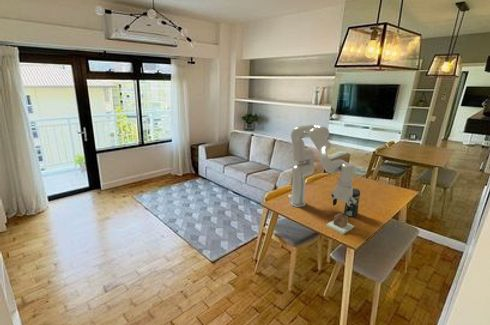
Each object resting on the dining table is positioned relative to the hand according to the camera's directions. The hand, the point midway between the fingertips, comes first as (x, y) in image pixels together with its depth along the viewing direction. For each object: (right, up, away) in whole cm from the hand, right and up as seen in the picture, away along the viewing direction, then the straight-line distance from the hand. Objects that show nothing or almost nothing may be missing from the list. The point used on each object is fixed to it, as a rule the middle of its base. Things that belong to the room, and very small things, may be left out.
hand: (341, 207), depth 162 cm
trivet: (0, -13, +3) cm, 13 cm away
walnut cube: (0, -11, +3) cm, 12 cm away
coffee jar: (+14, -8, +20) cm, 25 cm away
